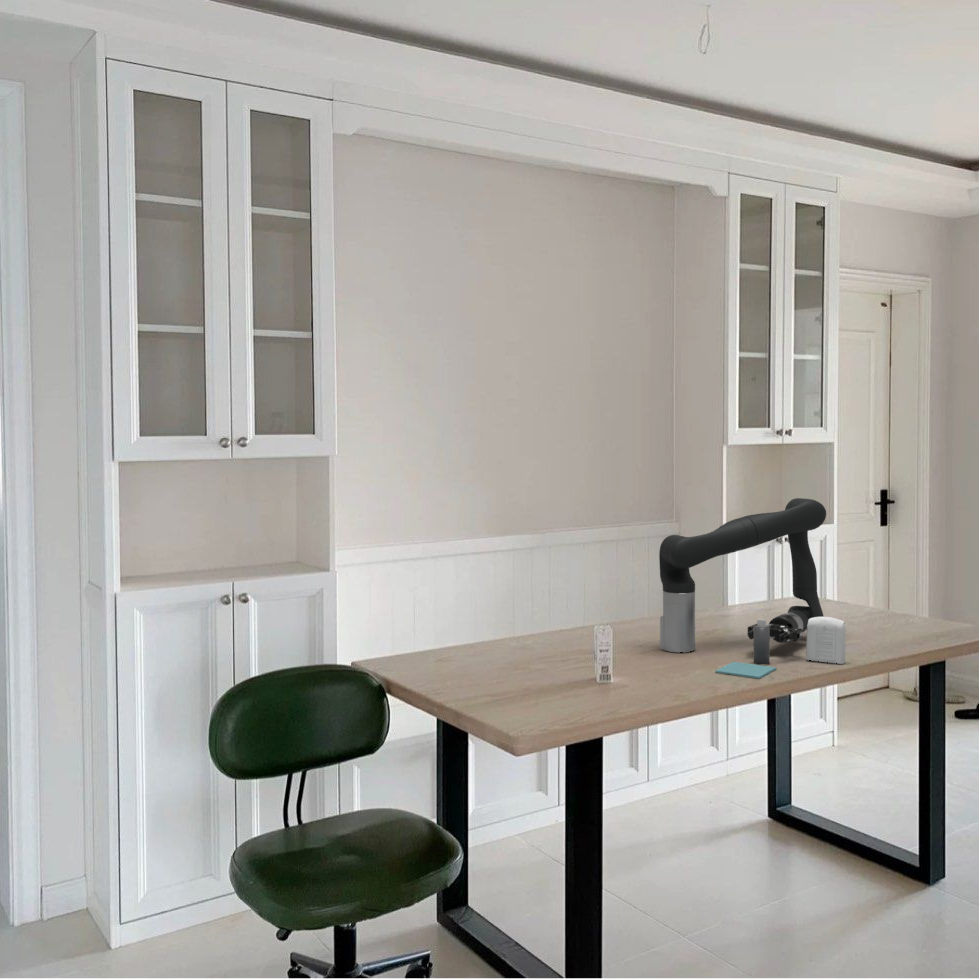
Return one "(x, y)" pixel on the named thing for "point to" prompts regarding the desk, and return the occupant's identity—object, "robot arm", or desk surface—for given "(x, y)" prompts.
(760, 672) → the teal mat
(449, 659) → the desk surface
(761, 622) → the grey capped bottle
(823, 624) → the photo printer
